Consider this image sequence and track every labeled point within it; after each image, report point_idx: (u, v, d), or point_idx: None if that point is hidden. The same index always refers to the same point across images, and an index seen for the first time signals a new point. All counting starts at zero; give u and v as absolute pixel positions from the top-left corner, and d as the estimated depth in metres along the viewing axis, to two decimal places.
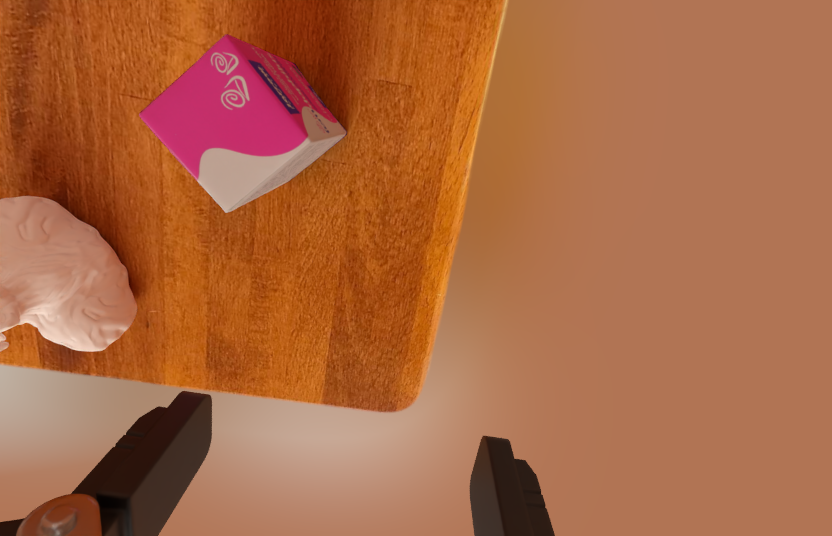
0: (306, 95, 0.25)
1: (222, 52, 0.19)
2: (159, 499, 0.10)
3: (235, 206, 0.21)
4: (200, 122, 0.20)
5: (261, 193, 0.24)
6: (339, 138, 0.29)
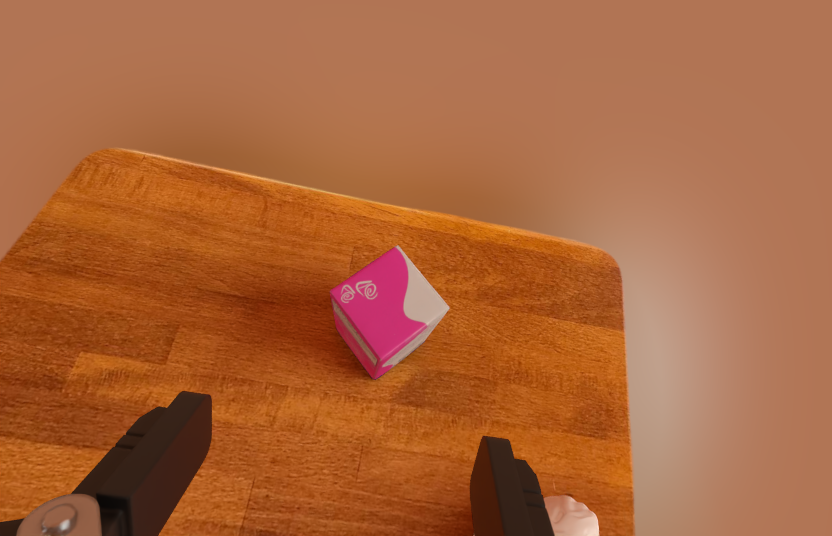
0: None
1: (341, 294, 0.28)
2: (159, 498, 0.10)
3: (444, 301, 0.29)
4: (386, 315, 0.28)
5: None
6: None
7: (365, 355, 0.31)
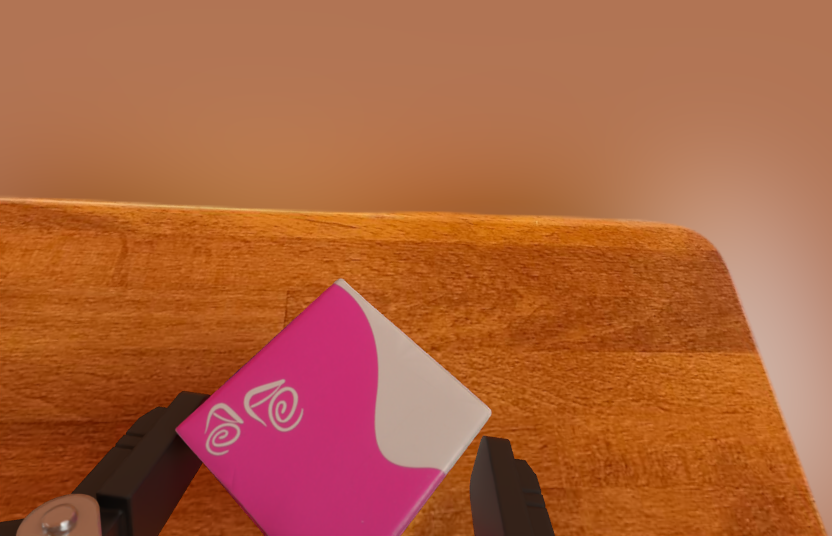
0: None
1: (205, 433, 0.10)
2: (159, 498, 0.10)
3: (476, 397, 0.11)
4: (333, 469, 0.10)
5: None
6: None
7: None
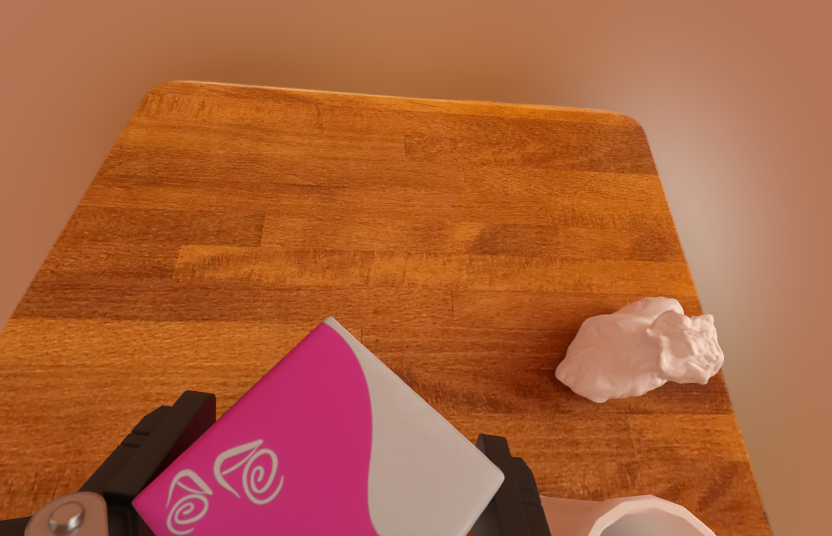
0: None
1: (166, 507, 0.09)
2: None
3: (486, 458, 0.10)
4: None
5: None
6: None
7: None
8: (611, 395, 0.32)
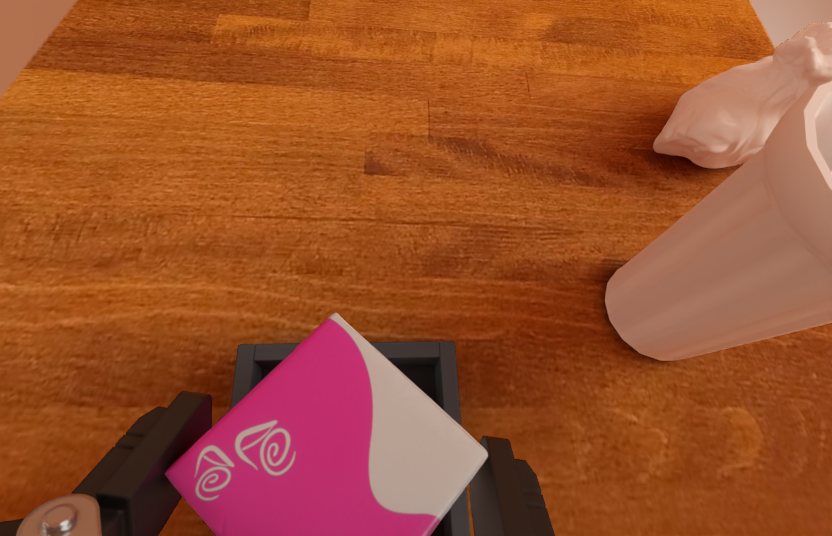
0: None
1: (195, 477, 0.10)
2: (159, 499, 0.10)
3: (472, 438, 0.11)
4: (326, 515, 0.10)
5: None
6: None
7: None
8: (733, 138, 0.27)
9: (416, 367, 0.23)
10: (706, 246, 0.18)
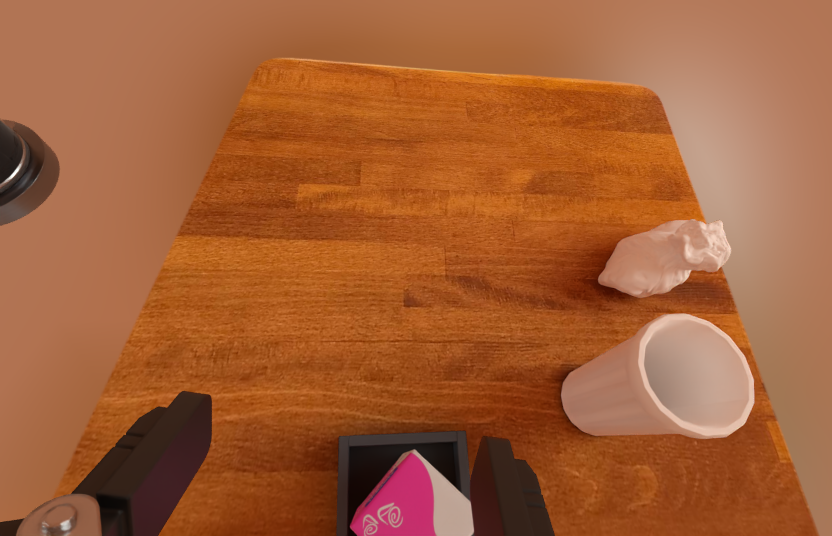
0: None
1: (363, 528, 0.25)
2: (159, 498, 0.10)
3: None
4: None
5: None
6: None
7: None
8: (645, 287, 0.41)
9: (442, 444, 0.38)
10: (606, 388, 0.33)
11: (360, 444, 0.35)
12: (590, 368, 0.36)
